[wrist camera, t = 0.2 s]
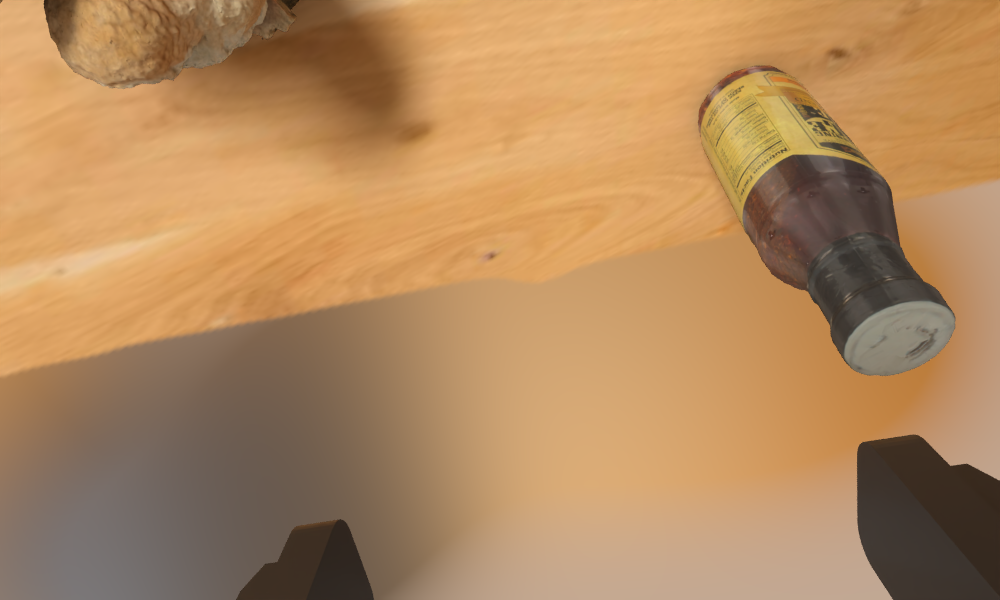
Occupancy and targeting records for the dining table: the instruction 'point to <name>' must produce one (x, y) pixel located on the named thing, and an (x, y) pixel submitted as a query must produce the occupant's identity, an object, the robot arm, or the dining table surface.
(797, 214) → the sauce bottle
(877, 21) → the dining table surface
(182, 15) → the owl figurine
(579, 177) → the dining table surface
